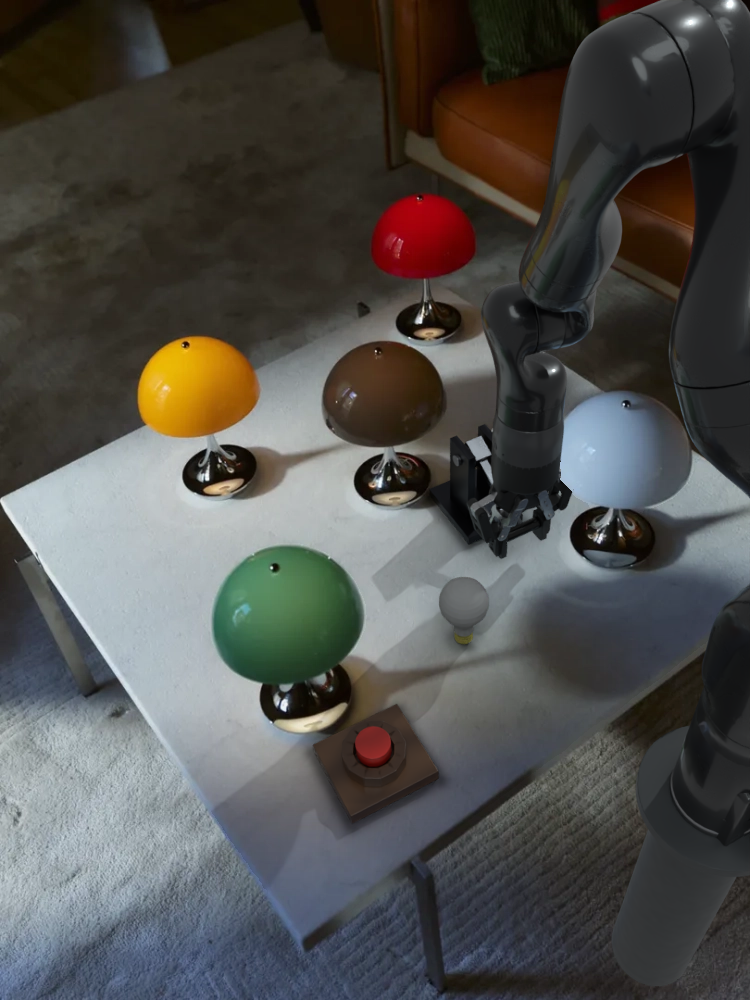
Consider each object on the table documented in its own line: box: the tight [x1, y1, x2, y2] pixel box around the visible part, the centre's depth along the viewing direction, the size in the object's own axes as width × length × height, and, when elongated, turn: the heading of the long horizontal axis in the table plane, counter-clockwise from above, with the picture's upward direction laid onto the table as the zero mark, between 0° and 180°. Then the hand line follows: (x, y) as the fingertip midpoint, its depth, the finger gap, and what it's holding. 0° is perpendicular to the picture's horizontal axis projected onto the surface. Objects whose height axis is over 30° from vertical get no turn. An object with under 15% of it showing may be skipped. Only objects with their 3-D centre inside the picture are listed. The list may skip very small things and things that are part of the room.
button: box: [355, 726, 392, 767], centre depth 96 cm, size 4×4×2 cm
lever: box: [464, 436, 541, 543], centre depth 114 cm, size 13×5×2 cm, turn 27°
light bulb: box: [438, 576, 490, 645], centre depth 105 cm, size 6×6×10 cm
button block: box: [312, 703, 440, 824], centre depth 97 cm, size 9×10×4 cm
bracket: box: [428, 423, 524, 545], centre depth 118 cm, size 10×8×12 cm
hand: (519, 543), depth 114 cm, fingers closed on lever, 5 cm apart
